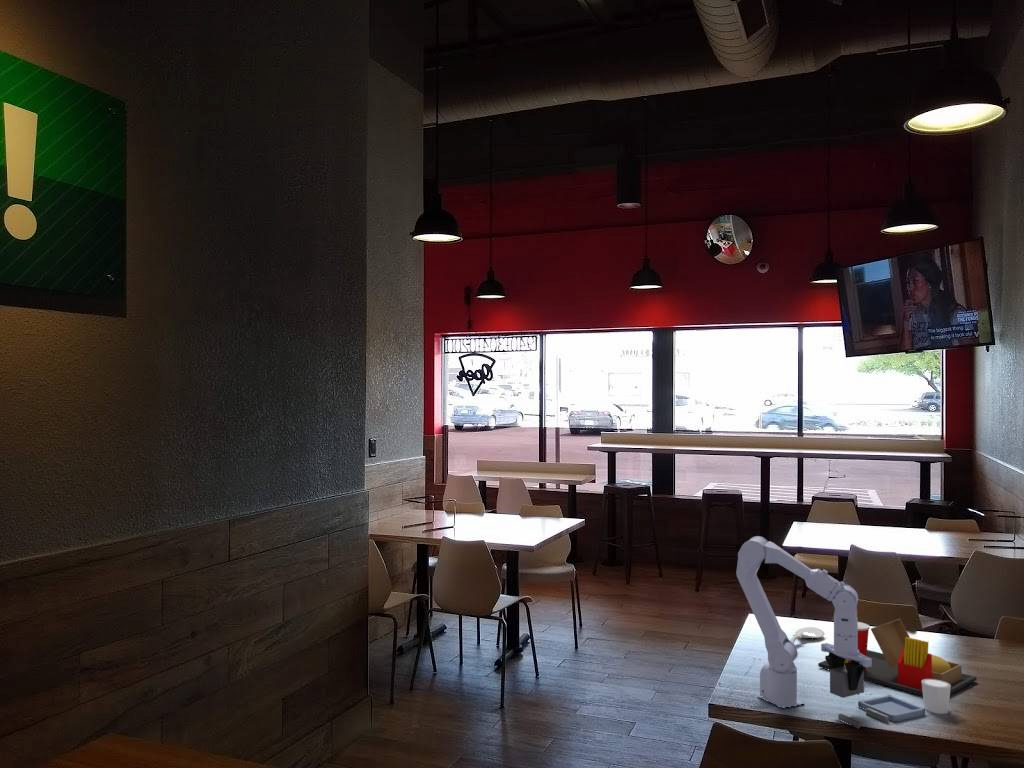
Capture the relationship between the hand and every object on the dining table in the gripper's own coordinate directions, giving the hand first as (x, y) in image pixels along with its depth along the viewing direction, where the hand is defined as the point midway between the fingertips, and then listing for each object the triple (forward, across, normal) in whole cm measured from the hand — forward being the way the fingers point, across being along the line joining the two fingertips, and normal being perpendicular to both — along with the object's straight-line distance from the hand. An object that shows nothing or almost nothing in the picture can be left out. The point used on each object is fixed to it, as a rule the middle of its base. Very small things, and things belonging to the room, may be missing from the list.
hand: (845, 686), depth 203 cm
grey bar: (+2, 0, 0) cm, 2 cm away
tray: (+7, -4, -12) cm, 15 cm away
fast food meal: (+8, +16, -38) cm, 42 cm away
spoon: (+7, +51, -35) cm, 62 cm away
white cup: (+7, -8, -24) cm, 27 cm away
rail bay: (+7, -6, 0) cm, 9 cm away
